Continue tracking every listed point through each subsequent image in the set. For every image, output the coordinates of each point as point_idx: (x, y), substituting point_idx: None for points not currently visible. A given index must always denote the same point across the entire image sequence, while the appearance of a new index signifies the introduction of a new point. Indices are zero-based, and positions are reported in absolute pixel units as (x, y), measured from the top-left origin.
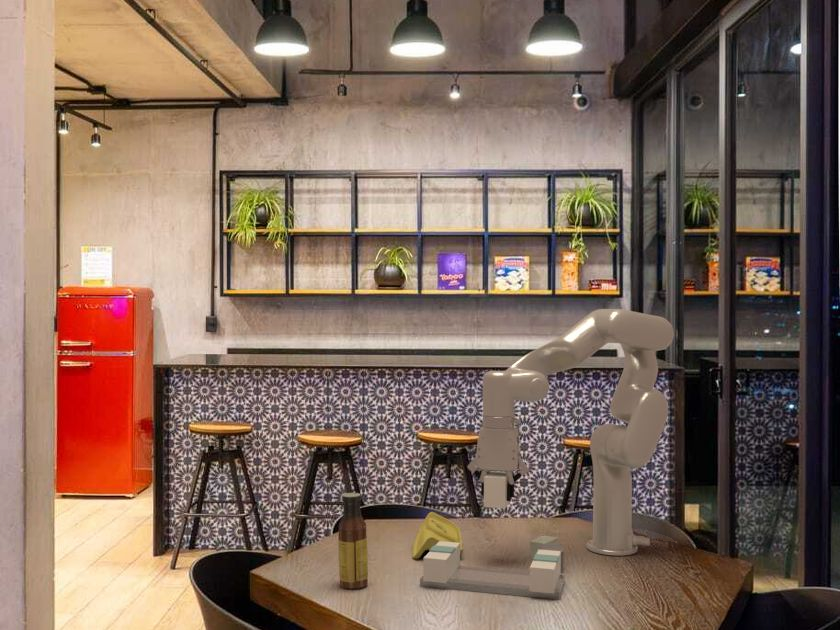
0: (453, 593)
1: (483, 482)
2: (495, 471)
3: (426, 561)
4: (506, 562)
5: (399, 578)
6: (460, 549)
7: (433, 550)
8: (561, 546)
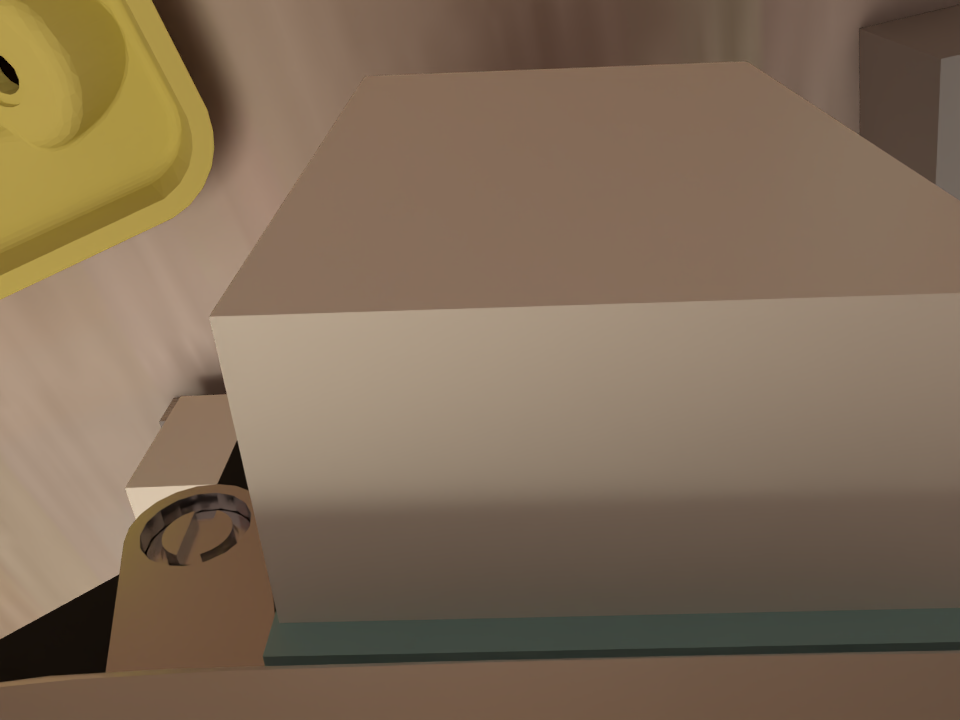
0: None
1: None
2: (411, 325)
3: None
4: (587, 61)
5: (85, 565)
6: (208, 160)
7: None
8: None
